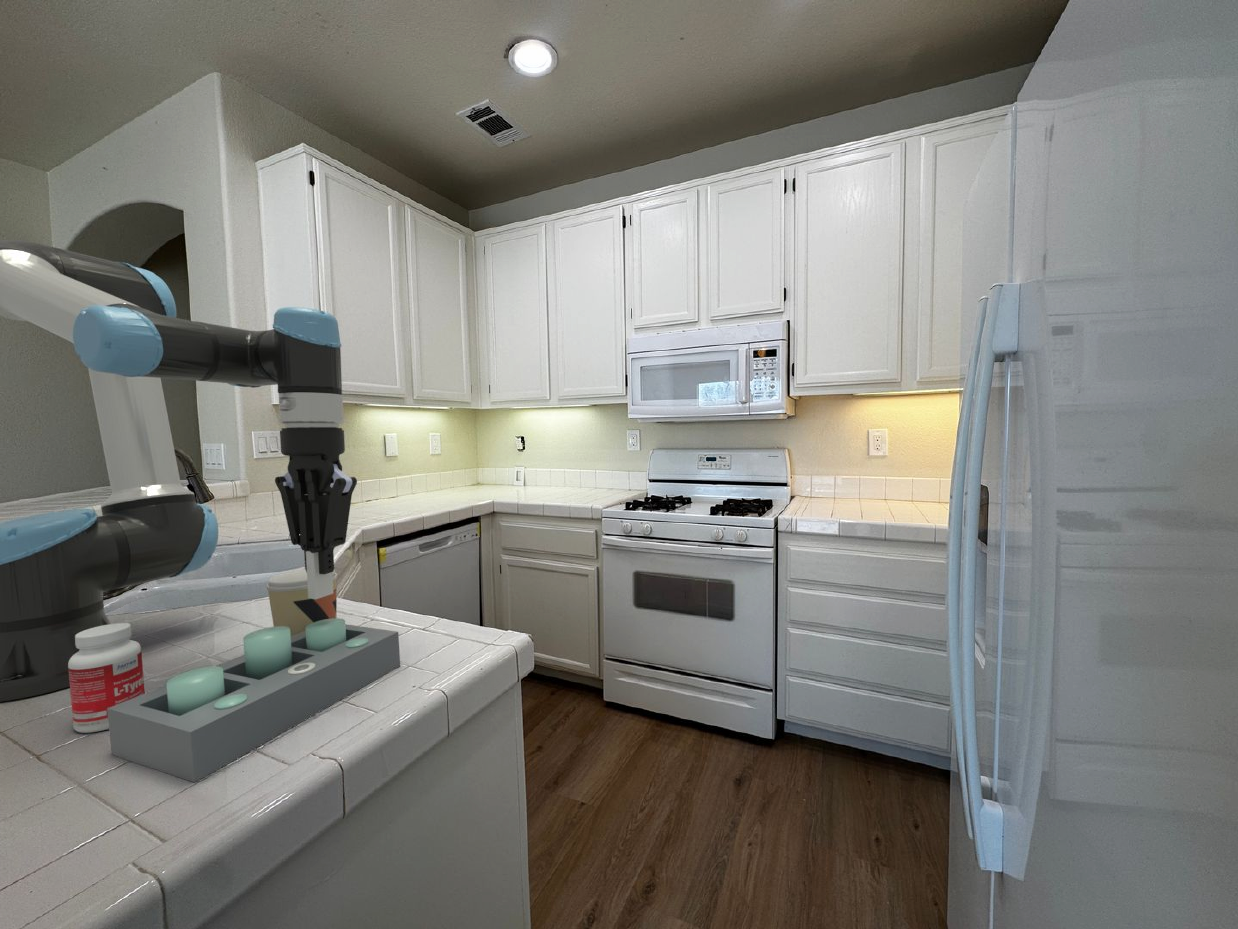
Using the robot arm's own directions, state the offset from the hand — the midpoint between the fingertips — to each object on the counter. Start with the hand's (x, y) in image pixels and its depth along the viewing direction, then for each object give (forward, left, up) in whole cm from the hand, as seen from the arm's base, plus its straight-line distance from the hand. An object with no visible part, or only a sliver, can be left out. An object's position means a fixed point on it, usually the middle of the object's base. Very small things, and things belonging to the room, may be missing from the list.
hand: (321, 595), depth 71 cm
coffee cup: (-10, +5, -11) cm, 16 cm away
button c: (+1, 0, -9) cm, 9 cm away
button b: (+1, -8, -7) cm, 11 cm away
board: (+2, -8, -11) cm, 14 cm away
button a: (+1, -16, -9) cm, 18 cm away
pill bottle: (-14, -17, -11) cm, 25 cm away
